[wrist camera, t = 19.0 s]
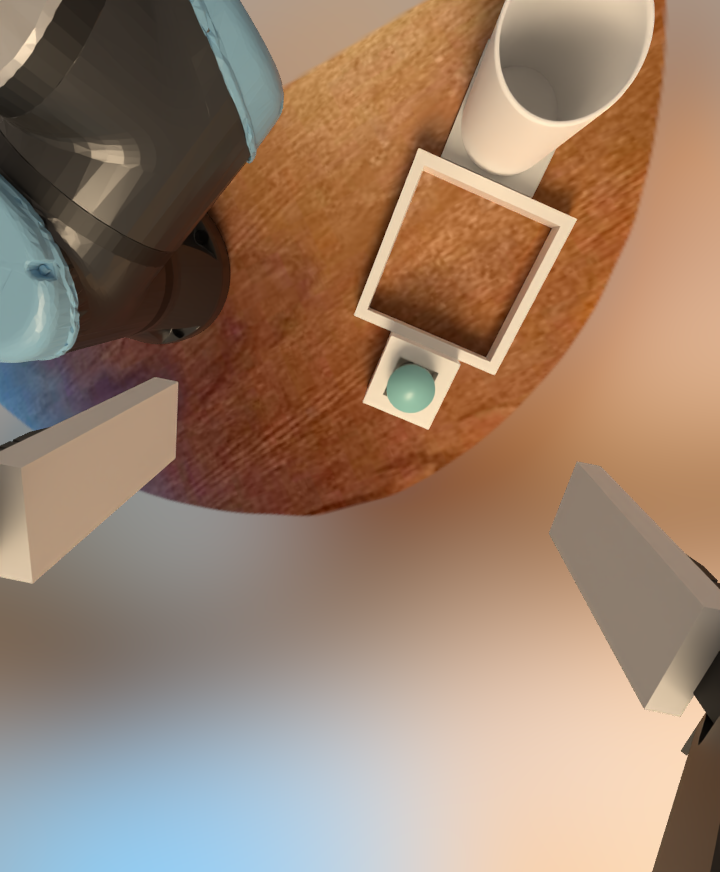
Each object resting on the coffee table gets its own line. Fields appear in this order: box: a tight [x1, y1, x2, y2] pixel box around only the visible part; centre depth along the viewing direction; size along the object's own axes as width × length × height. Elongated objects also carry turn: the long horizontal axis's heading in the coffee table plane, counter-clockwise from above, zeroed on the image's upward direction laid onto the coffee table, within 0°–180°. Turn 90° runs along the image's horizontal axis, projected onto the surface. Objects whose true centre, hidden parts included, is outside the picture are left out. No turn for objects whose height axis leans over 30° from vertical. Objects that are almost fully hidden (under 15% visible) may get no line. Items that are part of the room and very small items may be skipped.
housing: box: [354, 148, 577, 430], centre depth 43 cm, size 15×22×5 cm
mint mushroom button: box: [386, 362, 435, 413], centre depth 44 cm, size 4×4×5 cm
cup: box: [461, 0, 654, 176], centre depth 32 cm, size 8×8×16 cm
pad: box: [441, 39, 556, 198], centre depth 40 cm, size 9×9×1 cm
